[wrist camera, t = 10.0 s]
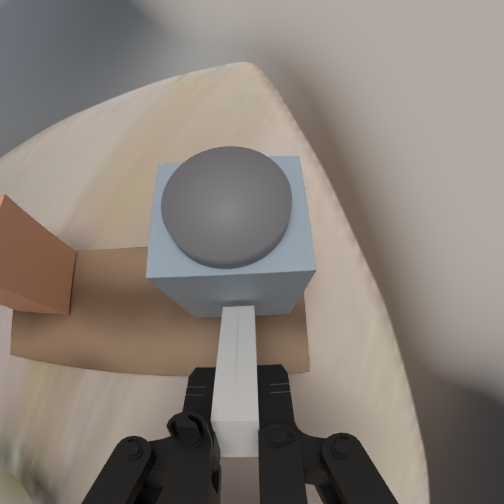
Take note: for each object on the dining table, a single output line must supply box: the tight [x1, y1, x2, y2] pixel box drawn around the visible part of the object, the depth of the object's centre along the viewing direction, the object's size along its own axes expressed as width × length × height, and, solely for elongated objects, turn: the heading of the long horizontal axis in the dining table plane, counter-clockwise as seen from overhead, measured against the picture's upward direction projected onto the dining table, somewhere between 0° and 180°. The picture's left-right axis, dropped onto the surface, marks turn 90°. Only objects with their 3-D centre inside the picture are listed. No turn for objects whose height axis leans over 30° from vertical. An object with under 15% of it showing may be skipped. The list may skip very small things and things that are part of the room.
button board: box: [10, 247, 310, 376], centre depth 20 cm, size 9×24×2 cm, turn 93°
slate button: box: [146, 146, 316, 318], centre depth 15 cm, size 5×6×10 cm
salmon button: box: [0, 194, 76, 315], centre depth 15 cm, size 5×6×10 cm
